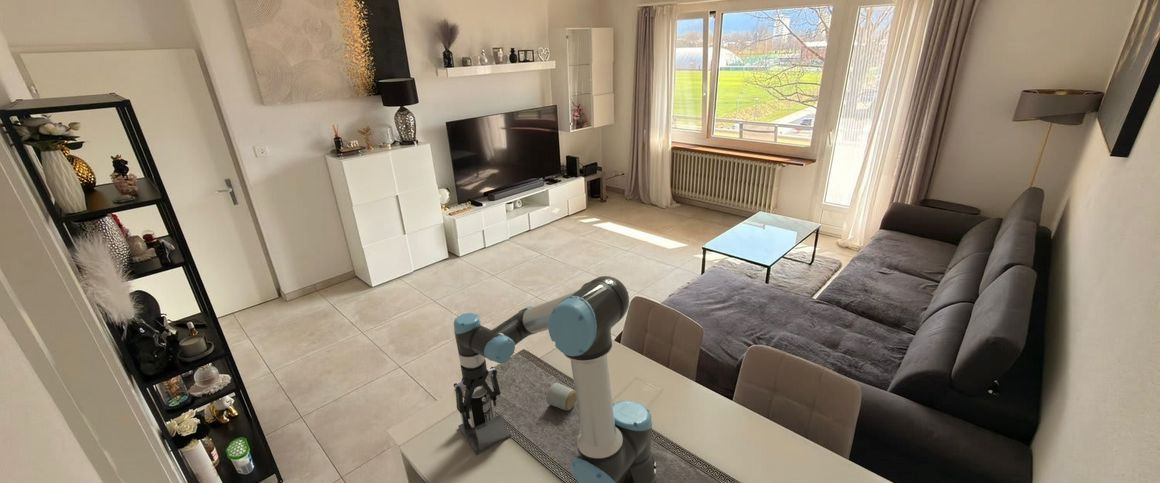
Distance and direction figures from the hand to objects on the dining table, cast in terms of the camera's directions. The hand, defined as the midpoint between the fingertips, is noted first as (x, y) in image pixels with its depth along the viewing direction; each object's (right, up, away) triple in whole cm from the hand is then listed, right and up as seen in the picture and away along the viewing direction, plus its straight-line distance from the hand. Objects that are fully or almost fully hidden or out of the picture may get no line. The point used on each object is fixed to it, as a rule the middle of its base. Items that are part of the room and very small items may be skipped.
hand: (482, 419), depth 154 cm
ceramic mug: (+26, +1, +13) cm, 29 cm away
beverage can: (0, -1, 0) cm, 1 cm away
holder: (0, -5, +2) cm, 5 cm away
